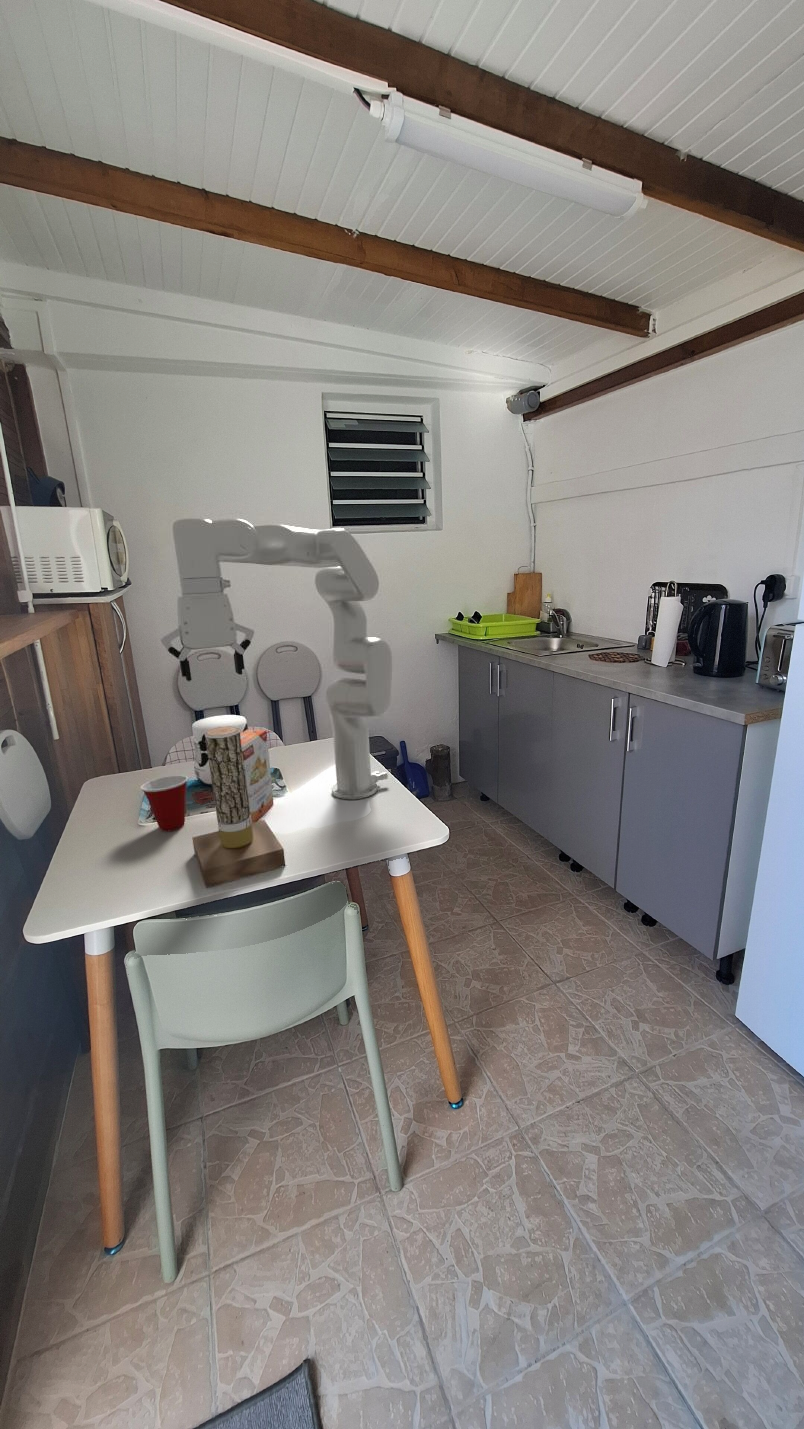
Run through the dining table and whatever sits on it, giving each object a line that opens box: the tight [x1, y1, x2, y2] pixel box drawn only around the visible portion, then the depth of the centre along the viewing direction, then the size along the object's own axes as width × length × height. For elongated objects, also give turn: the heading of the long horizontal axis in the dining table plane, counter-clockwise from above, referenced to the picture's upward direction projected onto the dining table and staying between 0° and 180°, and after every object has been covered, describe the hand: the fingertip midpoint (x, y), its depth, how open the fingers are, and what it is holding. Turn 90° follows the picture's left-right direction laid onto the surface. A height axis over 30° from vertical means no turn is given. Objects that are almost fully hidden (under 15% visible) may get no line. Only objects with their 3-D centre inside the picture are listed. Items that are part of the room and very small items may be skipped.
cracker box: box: [240, 729, 274, 823], centre depth 139 cm, size 14×6×21 cm, turn 168°
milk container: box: [191, 714, 249, 786], centre depth 165 cm, size 17×17×18 cm
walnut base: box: [191, 819, 286, 889], centre depth 120 cm, size 16×16×4 cm
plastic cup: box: [139, 774, 189, 832], centre depth 136 cm, size 11×11×12 cm
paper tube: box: [205, 726, 253, 849], centre depth 116 cm, size 7×7×25 cm
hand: (214, 676), depth 110 cm, fingers open, 9 cm apart
